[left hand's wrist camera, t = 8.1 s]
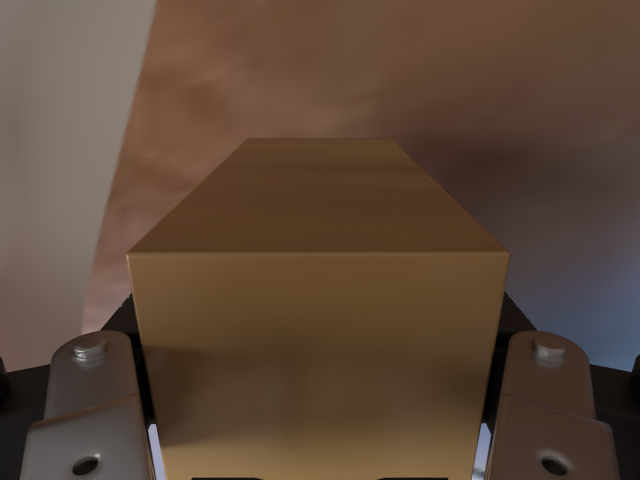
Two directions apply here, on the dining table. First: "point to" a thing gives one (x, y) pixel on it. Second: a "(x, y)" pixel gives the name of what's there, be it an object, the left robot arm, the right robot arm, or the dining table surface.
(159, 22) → the dining table surface
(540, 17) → the dining table surface
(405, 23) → the dining table surface
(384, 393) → the box
